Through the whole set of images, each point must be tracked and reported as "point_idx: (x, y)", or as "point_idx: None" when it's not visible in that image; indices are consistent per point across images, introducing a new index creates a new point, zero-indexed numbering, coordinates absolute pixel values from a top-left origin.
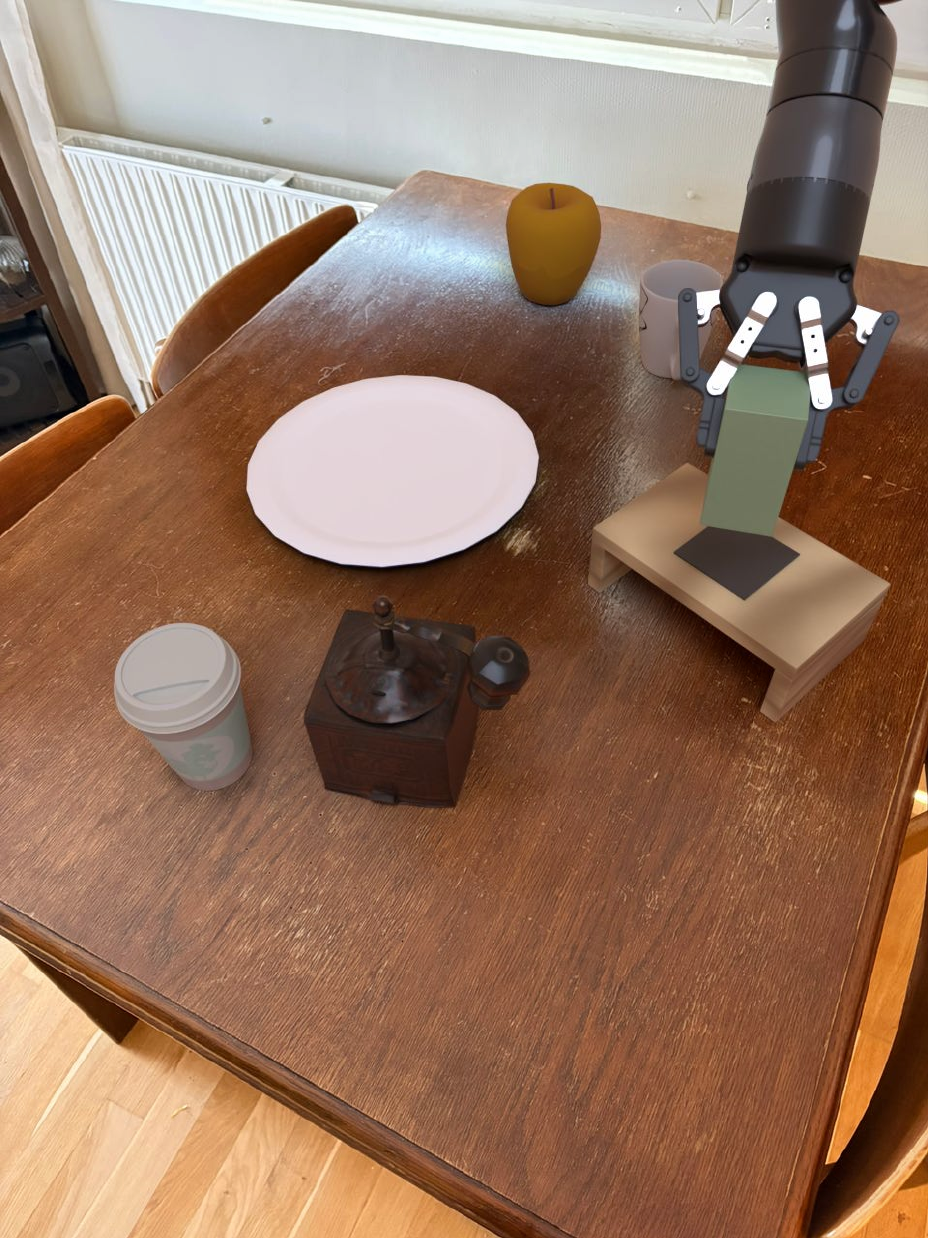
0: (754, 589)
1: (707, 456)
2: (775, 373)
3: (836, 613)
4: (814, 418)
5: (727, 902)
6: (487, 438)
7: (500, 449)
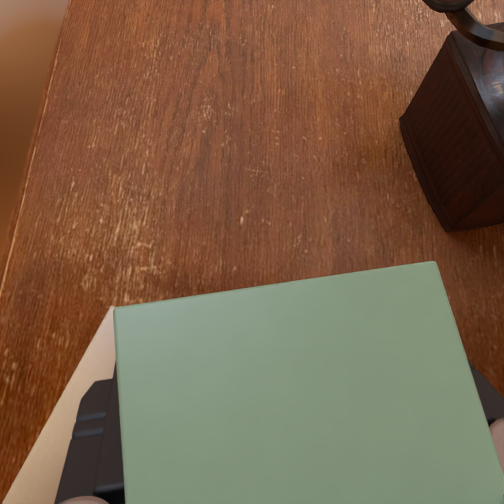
0: None
1: None
2: None
3: (63, 436)
4: (100, 463)
5: (146, 130)
6: None
7: None
